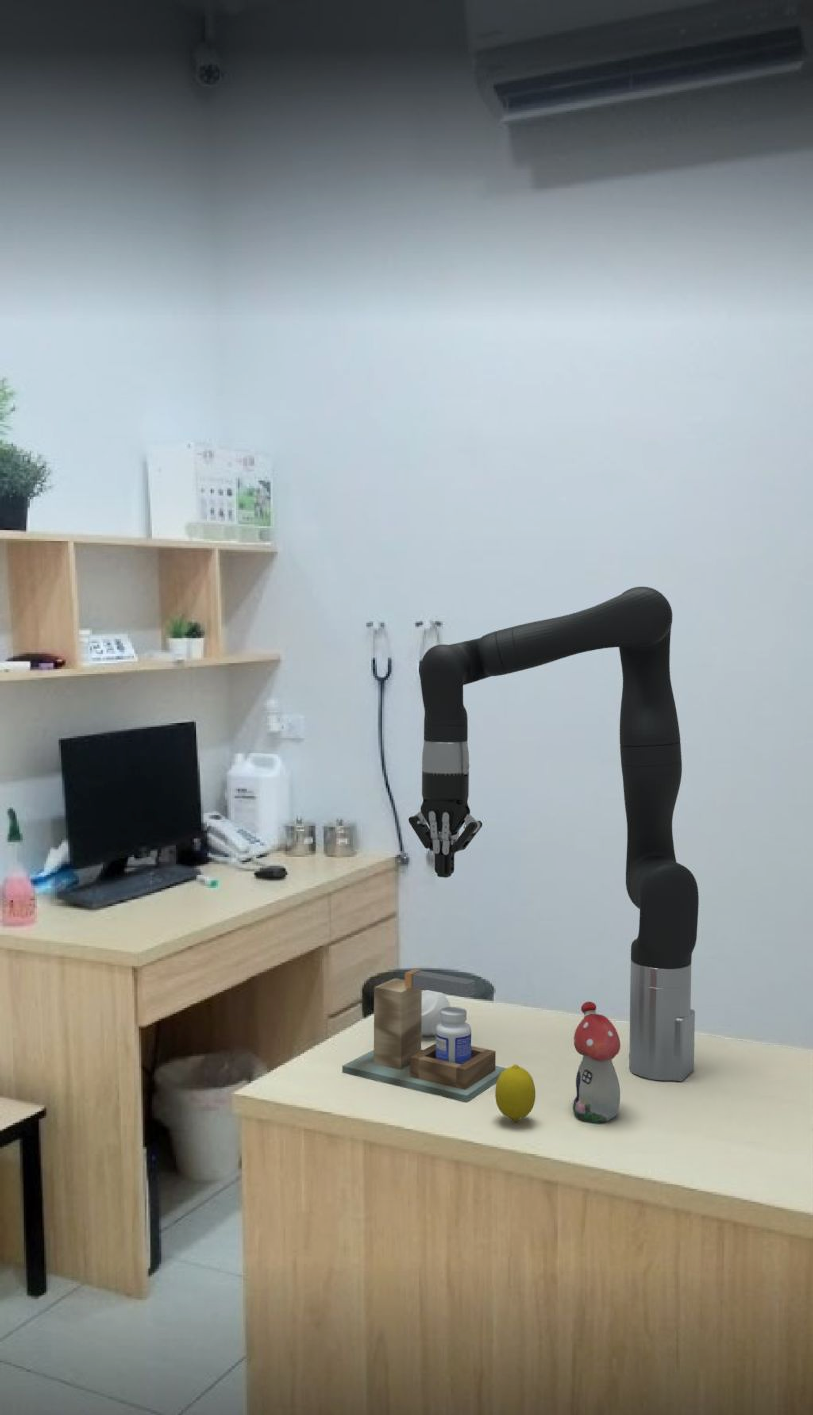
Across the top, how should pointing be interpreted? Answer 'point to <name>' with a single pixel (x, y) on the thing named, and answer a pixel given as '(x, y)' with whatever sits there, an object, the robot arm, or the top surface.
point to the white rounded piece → (432, 1011)
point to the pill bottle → (453, 1036)
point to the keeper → (439, 983)
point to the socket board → (417, 1051)
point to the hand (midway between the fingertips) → (444, 876)
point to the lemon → (515, 1093)
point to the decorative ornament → (596, 1067)
